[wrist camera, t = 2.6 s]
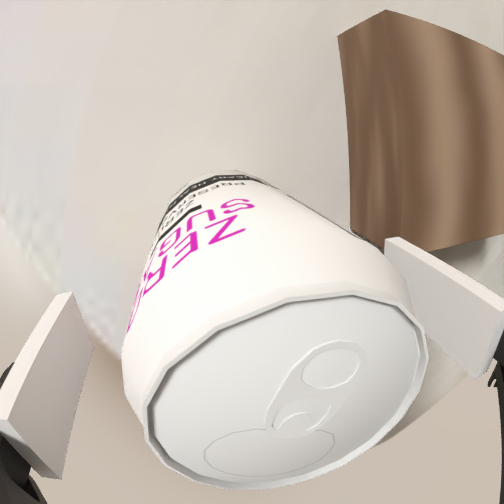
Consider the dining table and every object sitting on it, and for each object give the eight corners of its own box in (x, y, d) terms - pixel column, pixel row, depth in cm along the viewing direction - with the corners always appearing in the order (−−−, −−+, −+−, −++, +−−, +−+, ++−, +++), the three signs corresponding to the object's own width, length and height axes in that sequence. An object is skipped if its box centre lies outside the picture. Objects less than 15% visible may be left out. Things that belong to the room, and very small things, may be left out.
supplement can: (260, 301, 22) (346, 487, 8) (146, 272, 20) (106, 482, 6) (303, 194, 20) (488, 302, 6) (182, 152, 18) (153, 187, 4)
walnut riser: (467, 66, 19) (516, 62, 13) (470, 211, 24) (517, 230, 18) (337, 35, 16) (385, 9, 11) (350, 228, 22) (398, 258, 16)
